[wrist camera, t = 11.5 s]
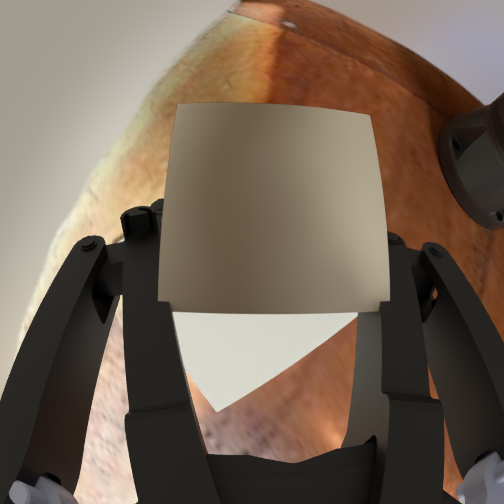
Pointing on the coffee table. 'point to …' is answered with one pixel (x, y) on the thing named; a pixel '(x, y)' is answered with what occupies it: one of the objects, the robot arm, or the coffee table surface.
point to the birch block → (272, 212)
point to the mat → (247, 348)
